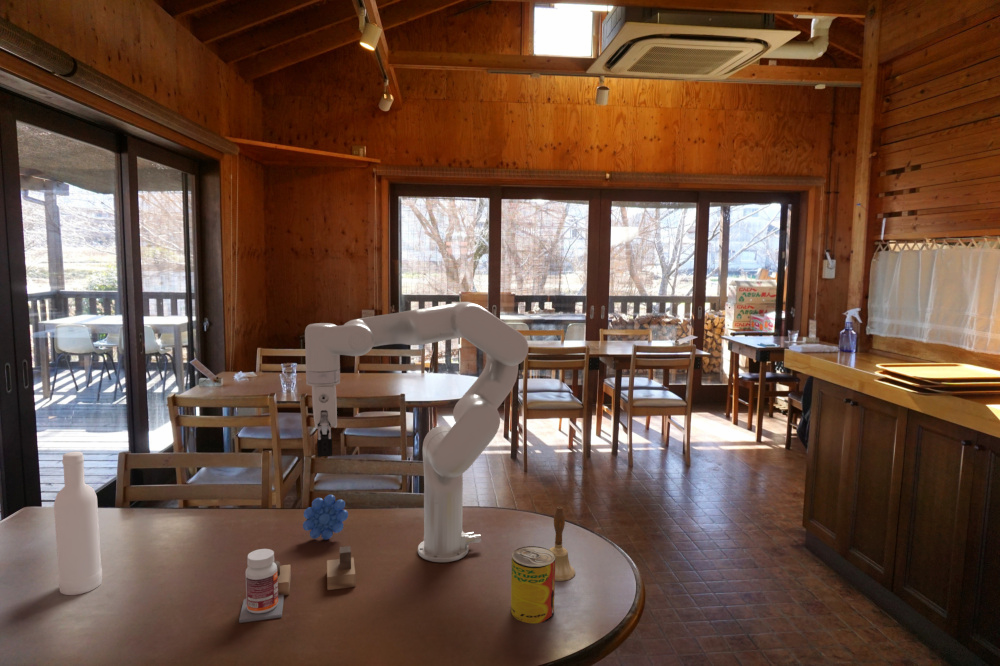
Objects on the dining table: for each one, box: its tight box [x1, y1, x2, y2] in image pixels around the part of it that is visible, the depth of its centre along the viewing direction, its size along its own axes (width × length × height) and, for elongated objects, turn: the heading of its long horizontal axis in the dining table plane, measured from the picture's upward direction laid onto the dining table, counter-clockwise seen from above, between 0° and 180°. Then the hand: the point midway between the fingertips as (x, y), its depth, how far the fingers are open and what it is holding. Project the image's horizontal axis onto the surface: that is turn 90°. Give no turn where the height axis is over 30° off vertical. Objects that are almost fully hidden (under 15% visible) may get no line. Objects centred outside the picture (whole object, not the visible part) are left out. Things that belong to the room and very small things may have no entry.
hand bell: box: [548, 506, 576, 582], centre depth 145 cm, size 8×8×16 cm
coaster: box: [238, 594, 285, 624], centre depth 128 cm, size 8×8×1 cm
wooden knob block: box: [274, 545, 356, 597], centre depth 138 cm, size 20×8×7 cm, turn 106°
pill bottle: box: [244, 548, 278, 613], centre depth 128 cm, size 6×6×11 cm
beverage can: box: [510, 545, 556, 624], centre depth 128 cm, size 9×9×12 cm
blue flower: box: [302, 494, 349, 541], centre depth 161 cm, size 12×7×12 cm, turn 94°
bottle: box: [53, 451, 103, 596], centre depth 134 cm, size 8×8×30 cm
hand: (324, 449), depth 144 cm, fingers open, 9 cm apart
